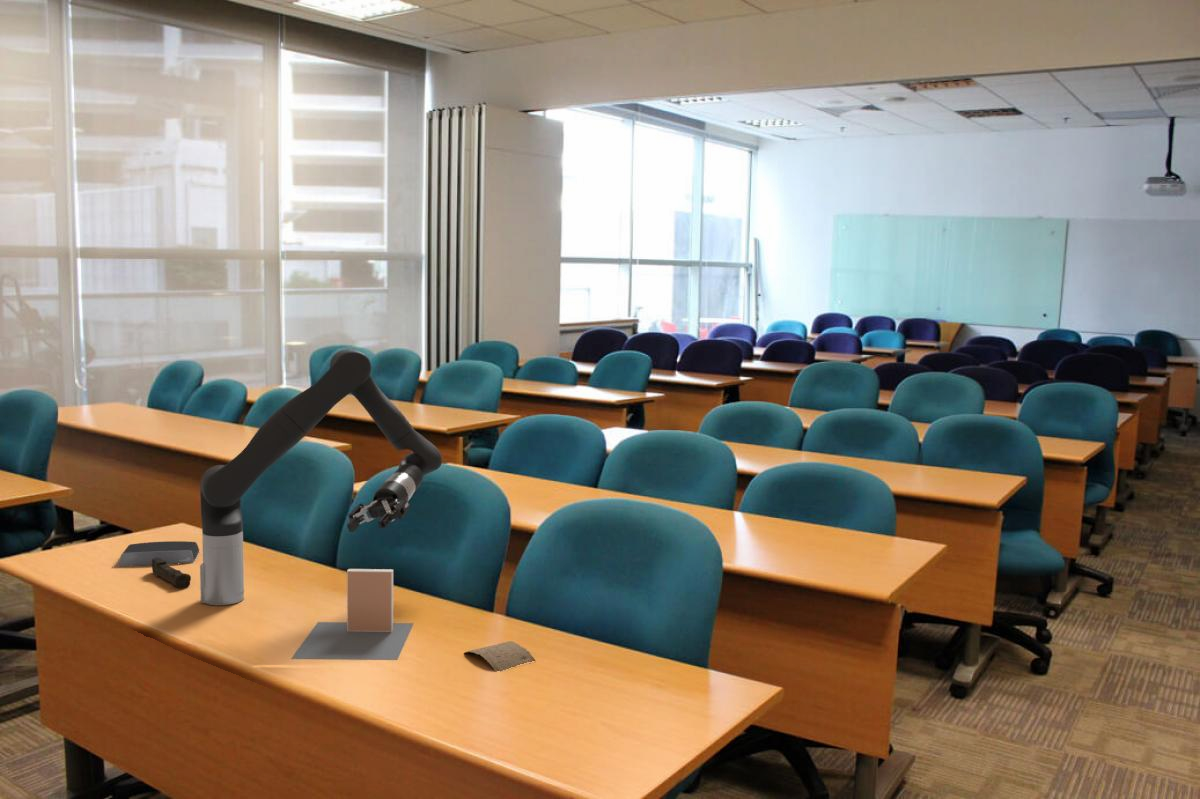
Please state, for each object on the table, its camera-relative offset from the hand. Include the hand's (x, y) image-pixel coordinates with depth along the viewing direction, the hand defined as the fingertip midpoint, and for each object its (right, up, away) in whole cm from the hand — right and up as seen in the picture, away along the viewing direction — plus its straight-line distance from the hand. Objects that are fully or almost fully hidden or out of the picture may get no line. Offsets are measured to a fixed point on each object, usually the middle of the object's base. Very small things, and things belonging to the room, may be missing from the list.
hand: (365, 527), depth 225 cm
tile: (+3, -22, -9) cm, 24 cm away
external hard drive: (-69, -15, +44) cm, 83 cm away
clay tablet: (+34, -26, -22) cm, 48 cm away
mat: (+2, -23, -15) cm, 28 cm away
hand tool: (-58, -18, +24) cm, 65 cm away
